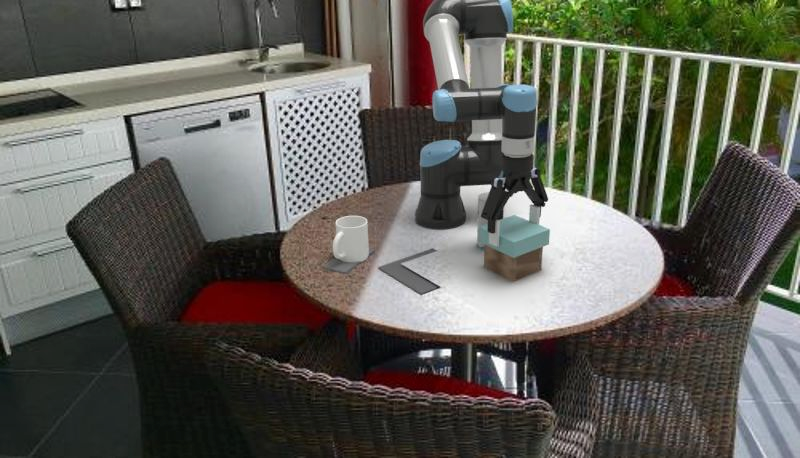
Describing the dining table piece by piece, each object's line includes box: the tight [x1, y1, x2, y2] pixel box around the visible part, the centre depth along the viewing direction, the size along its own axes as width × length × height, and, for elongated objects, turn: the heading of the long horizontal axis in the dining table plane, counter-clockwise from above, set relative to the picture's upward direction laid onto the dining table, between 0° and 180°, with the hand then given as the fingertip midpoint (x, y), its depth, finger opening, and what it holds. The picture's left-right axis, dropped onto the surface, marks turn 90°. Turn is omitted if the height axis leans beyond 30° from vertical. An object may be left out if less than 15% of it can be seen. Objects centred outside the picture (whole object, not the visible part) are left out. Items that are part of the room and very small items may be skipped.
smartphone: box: [322, 247, 375, 275], centre depth 179 cm, size 8×1×15 cm
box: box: [483, 245, 544, 283], centre depth 169 cm, size 10×10×8 cm
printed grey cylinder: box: [476, 191, 505, 251], centre depth 180 cm, size 7×7×15 cm
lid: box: [479, 214, 551, 258], centre depth 166 cm, size 12×12×5 cm
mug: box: [332, 215, 370, 263], centre depth 177 cm, size 12×8×10 cm
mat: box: [377, 248, 442, 296], centre depth 172 cm, size 18×18×1 cm
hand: (514, 237), depth 166 cm, fingers open, 13 cm apart
